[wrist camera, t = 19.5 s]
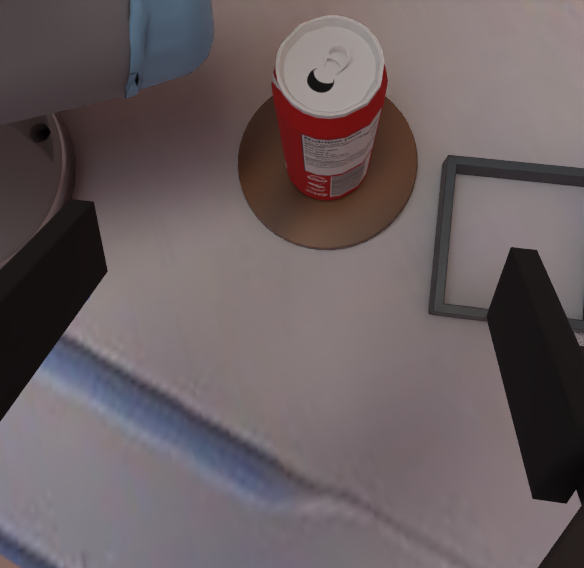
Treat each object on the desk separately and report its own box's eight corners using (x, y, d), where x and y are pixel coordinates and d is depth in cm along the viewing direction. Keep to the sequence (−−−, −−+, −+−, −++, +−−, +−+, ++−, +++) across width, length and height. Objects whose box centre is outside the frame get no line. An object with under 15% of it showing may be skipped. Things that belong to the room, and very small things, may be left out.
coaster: (208, 202, 36) (206, 199, 35) (289, 54, 37) (288, 49, 36) (367, 280, 34) (367, 279, 34) (445, 124, 36) (448, 121, 35)
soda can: (318, 108, 36) (316, -18, 24) (385, 152, 35) (417, 46, 23) (270, 172, 35) (243, 76, 23) (336, 218, 34) (343, 143, 23)
